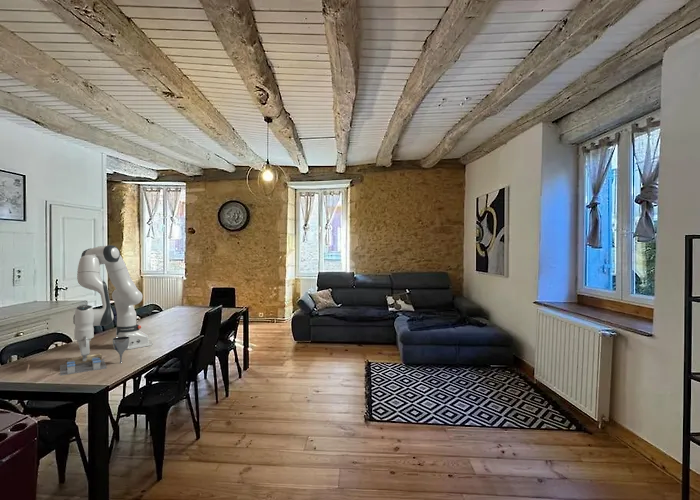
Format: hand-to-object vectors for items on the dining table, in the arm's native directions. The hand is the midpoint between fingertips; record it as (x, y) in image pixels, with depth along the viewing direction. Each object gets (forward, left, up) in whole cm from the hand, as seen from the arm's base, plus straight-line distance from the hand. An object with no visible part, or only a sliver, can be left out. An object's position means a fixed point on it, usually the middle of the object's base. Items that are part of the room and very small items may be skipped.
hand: (84, 359), depth 207 cm
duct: (+1, +6, -3) cm, 6 cm away
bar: (0, 0, -1) cm, 1 cm away
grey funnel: (-16, +10, -3) cm, 19 cm away
